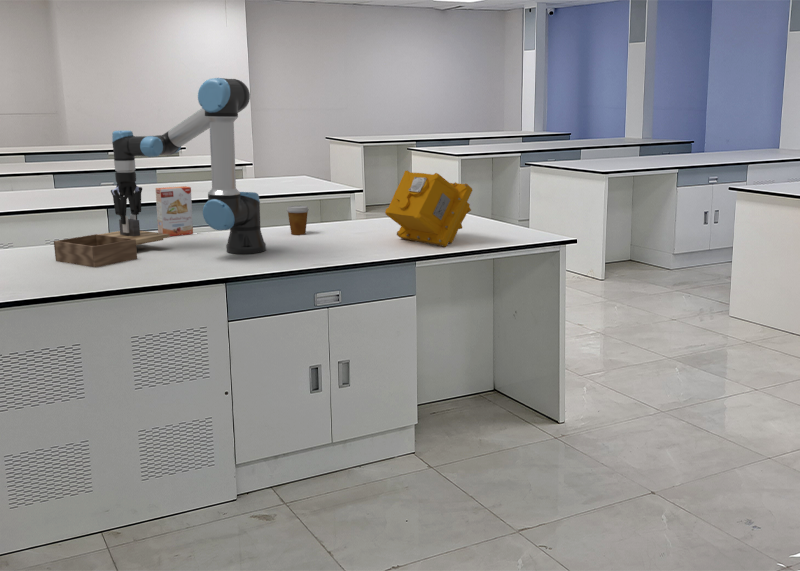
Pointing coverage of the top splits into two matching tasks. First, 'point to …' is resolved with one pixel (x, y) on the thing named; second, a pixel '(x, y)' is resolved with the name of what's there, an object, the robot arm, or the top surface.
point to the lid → (137, 233)
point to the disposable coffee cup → (297, 219)
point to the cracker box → (174, 210)
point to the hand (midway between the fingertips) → (130, 231)
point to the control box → (429, 208)
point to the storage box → (95, 250)
